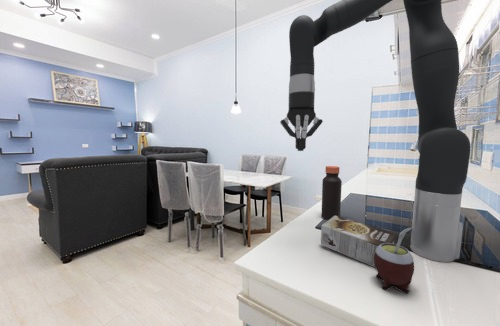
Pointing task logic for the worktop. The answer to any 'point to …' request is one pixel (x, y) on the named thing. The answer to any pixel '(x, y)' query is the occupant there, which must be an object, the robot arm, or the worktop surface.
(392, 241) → the coffee box
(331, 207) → the bottle
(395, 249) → the mate gourd
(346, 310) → the worktop surface
